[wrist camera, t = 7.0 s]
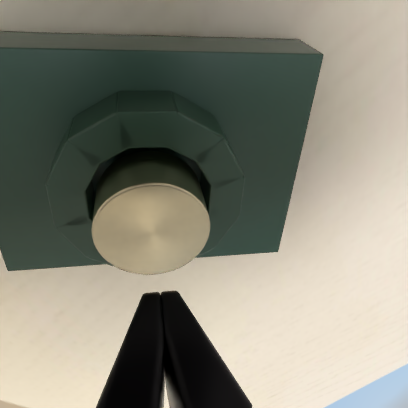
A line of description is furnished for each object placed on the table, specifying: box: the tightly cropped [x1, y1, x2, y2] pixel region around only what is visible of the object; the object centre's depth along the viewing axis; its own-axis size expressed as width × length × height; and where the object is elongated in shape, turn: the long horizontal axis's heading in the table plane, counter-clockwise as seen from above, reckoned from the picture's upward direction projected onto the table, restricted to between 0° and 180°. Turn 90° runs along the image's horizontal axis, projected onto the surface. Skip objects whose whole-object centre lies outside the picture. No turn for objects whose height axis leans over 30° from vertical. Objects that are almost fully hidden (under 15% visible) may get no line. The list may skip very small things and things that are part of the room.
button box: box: [0, 32, 323, 271], centre depth 14 cm, size 12×9×4 cm
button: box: [92, 151, 210, 275], centre depth 12 cm, size 4×4×2 cm
